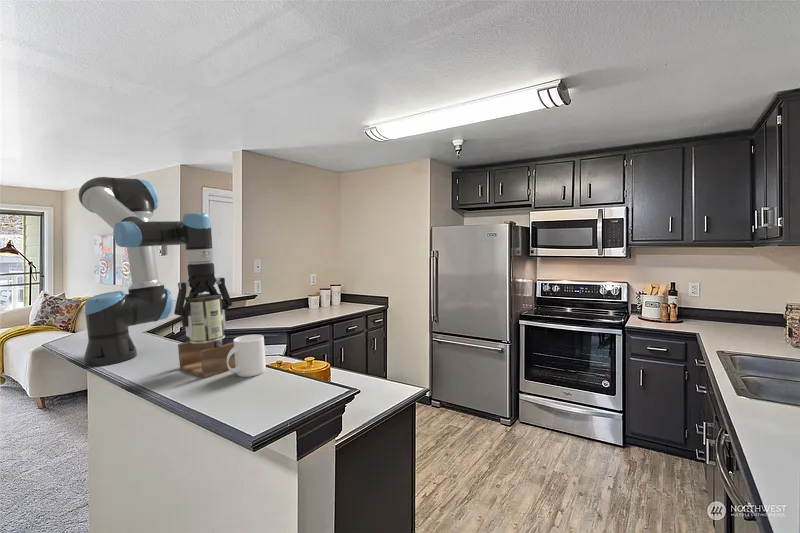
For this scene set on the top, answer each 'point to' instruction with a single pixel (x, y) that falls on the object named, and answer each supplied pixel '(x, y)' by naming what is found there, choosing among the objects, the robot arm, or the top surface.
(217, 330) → the coffee can
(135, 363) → the top surface
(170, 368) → the top surface
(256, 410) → the top surface
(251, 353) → the mug
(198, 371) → the cradle
